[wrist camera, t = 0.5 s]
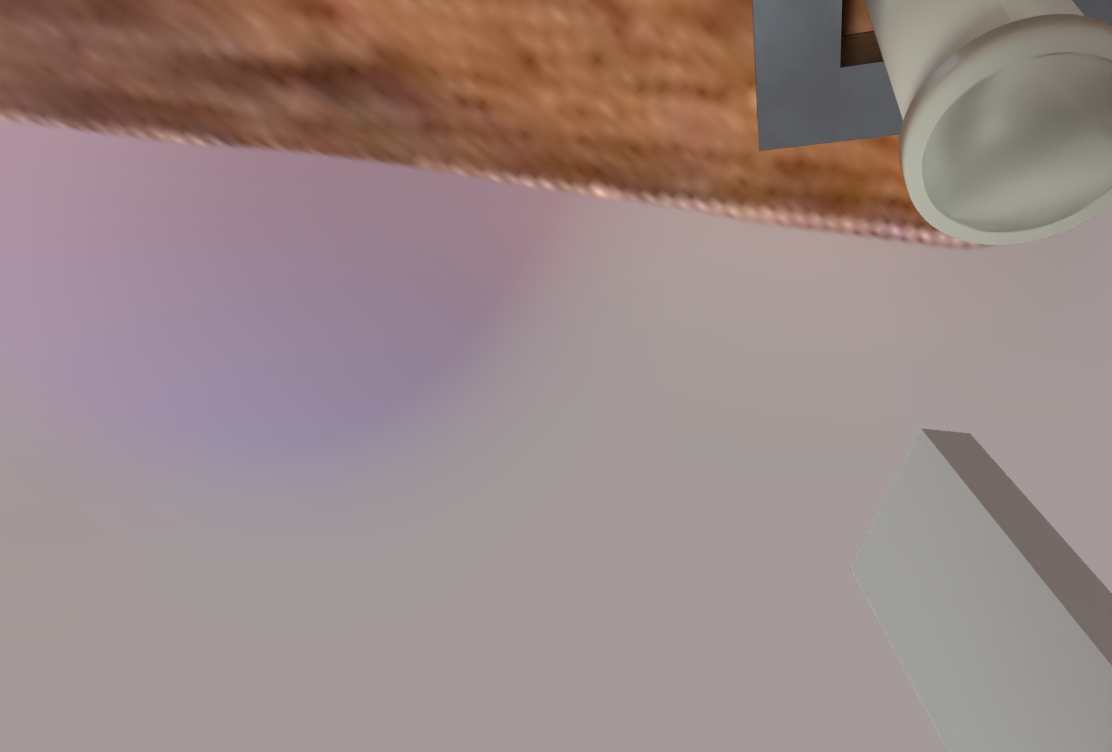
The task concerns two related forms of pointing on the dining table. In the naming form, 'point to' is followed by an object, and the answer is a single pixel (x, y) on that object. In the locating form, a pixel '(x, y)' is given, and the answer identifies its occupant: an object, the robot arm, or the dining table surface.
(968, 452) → the robot arm
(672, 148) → the dining table surface
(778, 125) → the housing
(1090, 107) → the cream upright pillar
